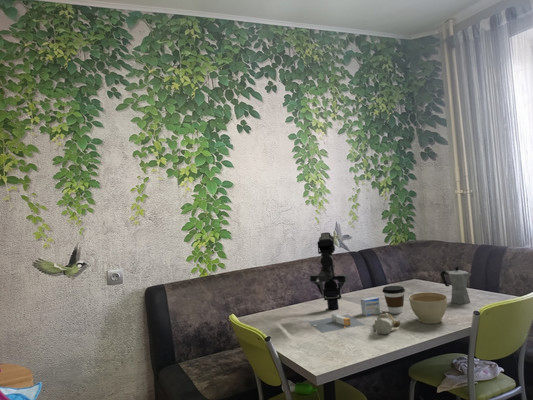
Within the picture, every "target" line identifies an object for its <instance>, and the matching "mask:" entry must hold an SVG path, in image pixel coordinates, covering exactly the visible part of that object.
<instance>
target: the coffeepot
mask: <svg viewBox="0 0 533 400" xmlns="http://www.w3.org/2000/svg"><path fill="white" fill-rule="evenodd" d="M439 274H440V277H441V279H442V281H443V284H444V286H445V287H450V285H451V298H450V299H451V303H453V304H457V305H464V304H470V303H471V299H470V297H469V296H470V295H469V292H468V289H467V286H468V280H469V278H470V277H471V275H472V273H470V272H467V271H466V270H461V269H459V266H455V270H442V271H441V272H440V273H439ZM445 275H446V276H447V275H448V277H449V281H450V284H448V282H447V279H446V277H445Z"/></svg>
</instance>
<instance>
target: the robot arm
mask: <svg viewBox="0 0 533 400" xmlns="http://www.w3.org/2000/svg"><path fill="white" fill-rule="evenodd" d="M335 245H336V244H335V238H334V237H333V236H332V235H331V232H321V233H320V236H319V238H318V241H317V254H318V255H320V264H321V267H320V272H319V273H314V274H311V275H310V277H309V281H310V283H311V282H312V284H315V285H316V286H317V289H318V291H319V292H320V294H321V296H323V299H324V300H323V301H327V304H326V305H327V308H325V311H328V312H329V311H338V310H339V309H340V308H339V300H341V299H342V292H343V288H344V285H345V283H346V282H348V281H349V280H350V276H349V274H348V273H340V274H338V275H336V273H335V264H334V255H333V253H335V251H336V246H335ZM336 281H337V282H336ZM323 283H324V285H323Z"/></svg>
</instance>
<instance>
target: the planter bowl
mask: <svg viewBox="0 0 533 400" xmlns="http://www.w3.org/2000/svg"><path fill="white" fill-rule="evenodd" d="M408 300H409V304H410V307H411V310H412V312H413V313H414V316H415V317H417V319H418V321H419V322H420V323H423V324H430V325H431V324H438V323H441V322H442V318H443V317H444V315H445V313H446V311H447V308H448V307H447V306H448V302H447V301H448V296H447V295H446V294H443V293H439V292H430V291H429V292H427V291H426V292H417V293H412V294H410V295H409V296H408Z"/></svg>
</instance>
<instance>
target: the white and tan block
mask: <svg viewBox="0 0 533 400" xmlns="http://www.w3.org/2000/svg"><path fill="white" fill-rule="evenodd" d="M342 316H343V315H340V314H339V313H332V314H331V318H332V322H335V323H336V322H337V323H340V324H343V325H346V326H349V325H351V322H350V318H348V317H347V318H346V317H342Z"/></svg>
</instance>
